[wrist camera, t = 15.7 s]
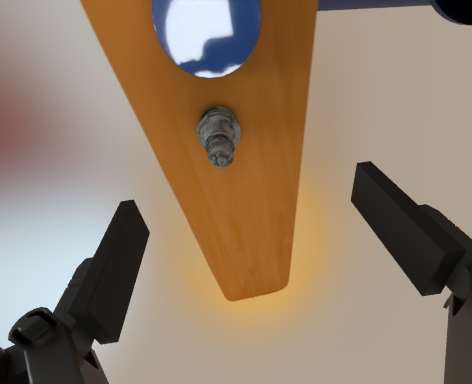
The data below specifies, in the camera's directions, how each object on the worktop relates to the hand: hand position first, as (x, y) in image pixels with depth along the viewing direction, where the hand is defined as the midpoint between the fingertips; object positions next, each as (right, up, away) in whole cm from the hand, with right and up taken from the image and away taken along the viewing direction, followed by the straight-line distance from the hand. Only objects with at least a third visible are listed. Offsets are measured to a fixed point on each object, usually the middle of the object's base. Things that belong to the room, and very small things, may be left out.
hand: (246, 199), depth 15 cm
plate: (-4, +20, +14) cm, 25 cm away
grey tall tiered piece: (-3, +10, +21) cm, 24 cm away
